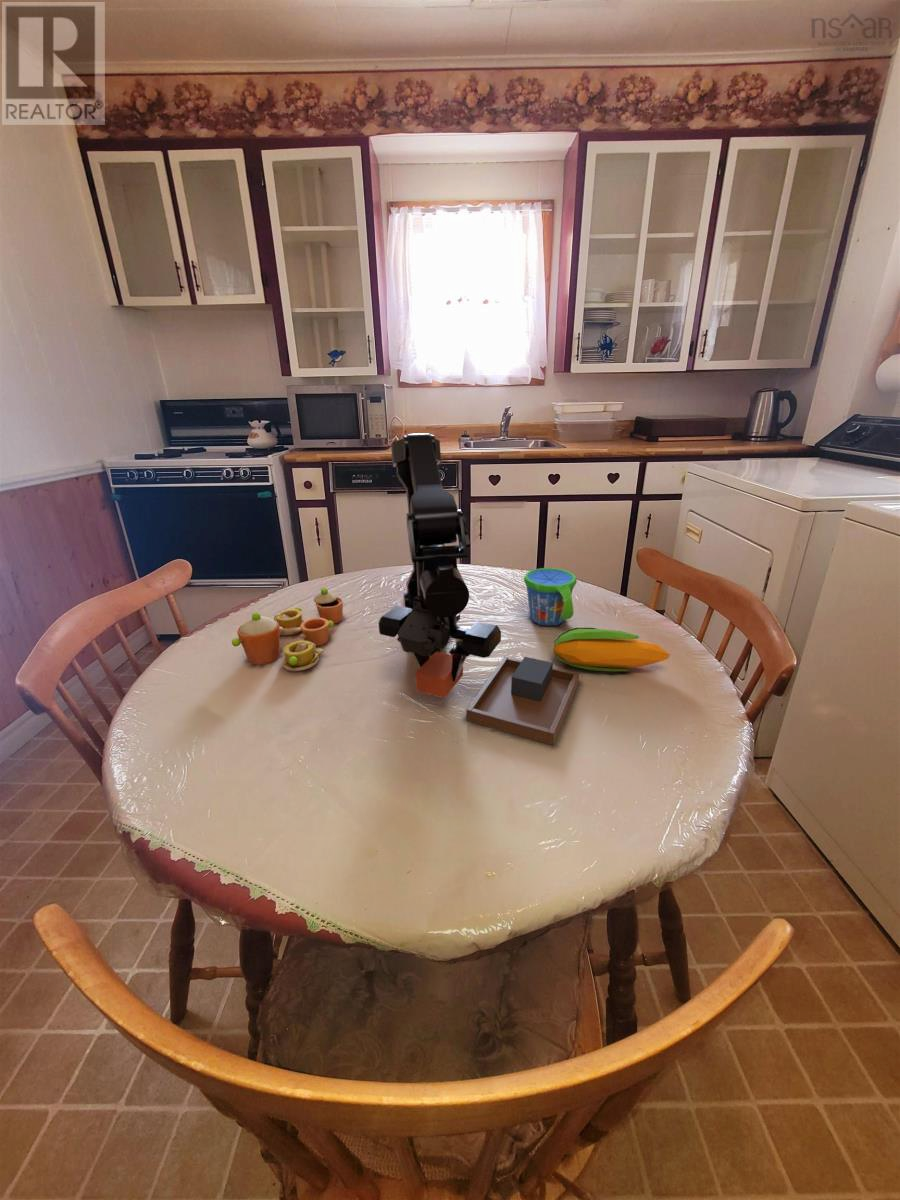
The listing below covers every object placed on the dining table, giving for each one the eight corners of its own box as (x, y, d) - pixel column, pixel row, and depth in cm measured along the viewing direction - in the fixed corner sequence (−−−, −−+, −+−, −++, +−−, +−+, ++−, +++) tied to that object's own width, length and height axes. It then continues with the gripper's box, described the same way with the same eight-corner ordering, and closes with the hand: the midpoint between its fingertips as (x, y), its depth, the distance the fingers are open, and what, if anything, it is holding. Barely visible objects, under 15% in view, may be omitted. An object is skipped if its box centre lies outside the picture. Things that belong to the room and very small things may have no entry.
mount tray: (466, 720, 75) (466, 709, 74) (503, 666, 89) (504, 656, 88) (553, 745, 69) (554, 734, 69) (578, 683, 83) (579, 672, 82)
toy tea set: (311, 677, 87) (304, 630, 83) (230, 673, 88) (219, 626, 84) (354, 613, 110) (350, 574, 106) (290, 611, 112) (283, 572, 108)
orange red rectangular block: (416, 690, 77) (415, 672, 75) (436, 668, 83) (435, 651, 81) (444, 698, 75) (444, 679, 73) (463, 675, 81) (462, 657, 79)
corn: (554, 617, 89) (668, 622, 86) (551, 651, 93) (660, 657, 90) (555, 639, 83) (678, 646, 80) (552, 674, 86) (670, 682, 83)
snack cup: (512, 607, 111) (513, 565, 107) (555, 602, 113) (558, 561, 109) (538, 639, 97) (541, 593, 93) (586, 633, 99) (591, 587, 95)
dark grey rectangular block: (510, 694, 80) (511, 677, 78) (523, 672, 86) (524, 656, 84) (540, 701, 78) (541, 684, 76) (551, 679, 84) (552, 662, 82)
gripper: (353, 598, 69) (363, 689, 75) (473, 621, 61) (473, 720, 68) (394, 571, 78) (400, 655, 85) (503, 589, 71) (501, 679, 77)
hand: (440, 676), depth 78 cm, fingers closed on orange red rectangular block, 5 cm apart
